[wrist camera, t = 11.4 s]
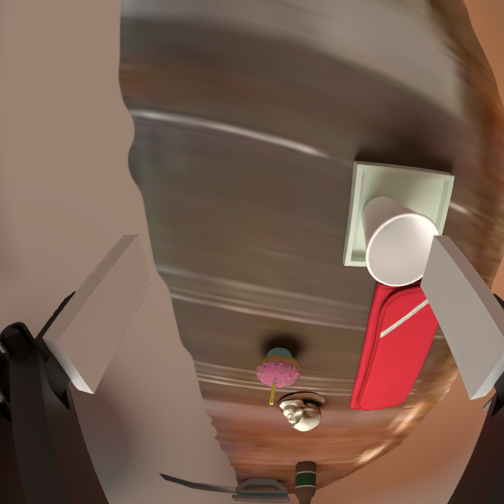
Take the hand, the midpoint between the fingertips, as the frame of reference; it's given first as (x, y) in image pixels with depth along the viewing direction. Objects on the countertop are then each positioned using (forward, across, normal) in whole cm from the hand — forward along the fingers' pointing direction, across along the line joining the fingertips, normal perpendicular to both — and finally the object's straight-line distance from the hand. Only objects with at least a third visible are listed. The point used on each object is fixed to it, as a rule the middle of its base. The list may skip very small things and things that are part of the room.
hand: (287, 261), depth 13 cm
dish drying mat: (+30, +24, -42) cm, 57 cm away
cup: (+29, +14, -11) cm, 34 cm away
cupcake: (+29, -1, -41) cm, 51 cm away
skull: (+29, +5, -61) cm, 68 cm away
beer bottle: (+28, +10, -111) cm, 115 cm away
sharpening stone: (+27, -7, -139) cm, 142 cm away
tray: (+30, +17, -11) cm, 36 cm away
